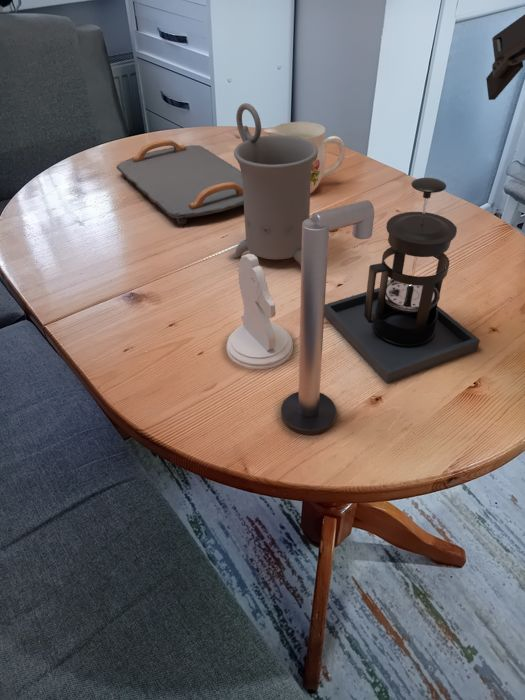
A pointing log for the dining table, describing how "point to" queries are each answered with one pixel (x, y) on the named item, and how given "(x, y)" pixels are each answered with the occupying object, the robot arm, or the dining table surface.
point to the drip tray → (394, 359)
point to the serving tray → (185, 180)
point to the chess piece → (257, 323)
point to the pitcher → (316, 136)
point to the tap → (318, 315)
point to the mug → (273, 190)
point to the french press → (412, 291)
